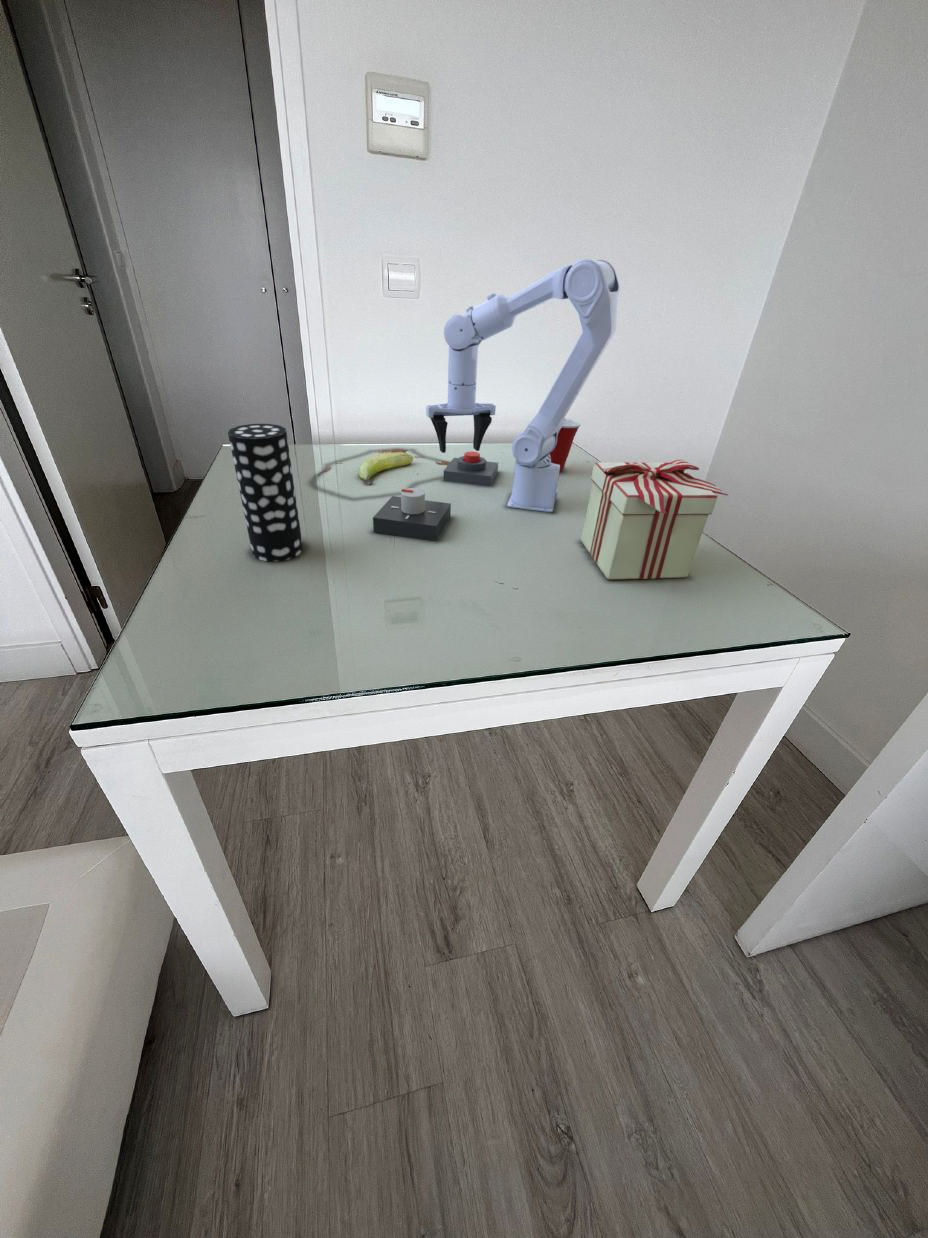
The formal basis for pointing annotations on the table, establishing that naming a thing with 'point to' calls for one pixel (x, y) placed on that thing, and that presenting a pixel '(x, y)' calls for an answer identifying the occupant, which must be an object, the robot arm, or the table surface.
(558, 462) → the plastic cup
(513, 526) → the table surface
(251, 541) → the spotted tube
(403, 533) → the timer panel
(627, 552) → the gift box
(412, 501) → the timer knob
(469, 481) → the switch block
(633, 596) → the table surface
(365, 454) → the table surface
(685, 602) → the table surface
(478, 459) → the power button
